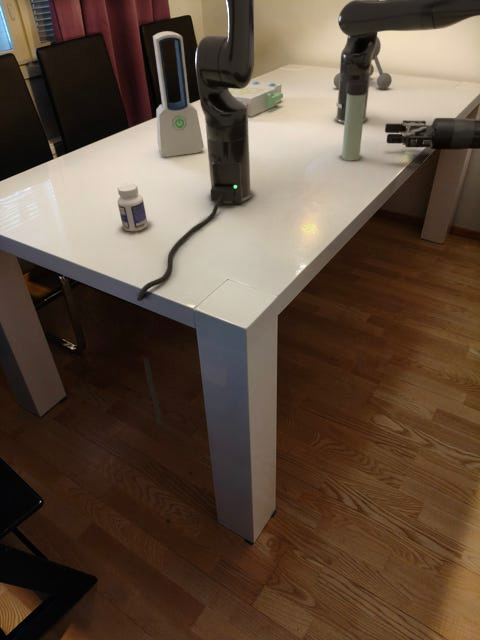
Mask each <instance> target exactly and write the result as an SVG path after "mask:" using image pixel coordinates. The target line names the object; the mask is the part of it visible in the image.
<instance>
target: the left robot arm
mask: <svg viewBox="0 0 480 640" xmlns="http://www.w3.org/2000/svg"><path fill="white" fill-rule="evenodd" d="M224 1H225V5H226V11H227V35H218V34H217V35H215V34H214V35H213V34H212V35H211V34H209V35H205V36H204V37H202V38H201V39H200V41H199V42H198V45H197V47H196V51H195V73H196V74H195V75H196V81H197V89H198V94H199V103H200V107H201V111H202V113H203V114H204V122H205V132H206V144H207V155H208V166H209V167H208V168H209V179H210V201H211V202H214V203H215V204H214V206H213V209H212V211H211V213H210V214H209V215H208V216H207V218H205V219H204V220H203V221H201V222H199V223H198V224H196V225H194V226H193V227H191V228H190V229H189V230H188V231H187V232H186V233H185V234H183V235H182V237H180V238H179V239H178V240H177V241H176V242H175V244H174V245H173V246H172V247H171V249H170V250H169V253H168V256H167V266H166V269H165V273H164V274H163V275H162V276H161V277H159V278H157V279H153V280H151V281H149V282H148V283H146V284H144V285H143V286H142V287H141V289H140V291H139V293H138V295H137V299H136V301H138V302H141V301H143V299H144V296H145V294H146V293H147V291H148V290H149V289H151V288H153V287H155V286H157V285H160V284H162V283H164V282H165V281H167V280H168V279H169V277H170V275H171V273H172V271H173V259H174V255H175V253H176V251H177V250H178V249H179V248H180V246H181V245H182V244H183V243H184V242H185V241H186V240H187V239H188V238H189V237H190V236H191V235H193V233H195V232H197V230H199V229H201V228H202V227H204V226H206V225H207V224H208V223H209V222H211V221H212V220H213V218H214V217H215V216H216V214H217V212H218V210H219V207H220V206H221V205H242V204H243V202H246V201H248V200H250V198H251V196H252V190H251V165H250V162H251V161H250V138H249V135H250V134H249V116H248V110H247V107H246V105H245V104H243V103H242V102H240V101H239V100H237V99H236V98H235V97H234V96H233V95H232V94H231V93H230V92H229V90H230V89H233V88H234V89H243V88H245V87H246V86H247V85H248V84H250V82H251V81H252V78H253V75H254V70H255V57H256V43H255V42H256V37H255V35H256V34H255V0H224ZM142 359H143V364H144V369H145V373H146V378H147V383H148V387H149V390H150V395H151V398H152V403H153V407H154V411H155V416H156V420H157V425H158V426H162V425H163V419H162V413H161V409H160V405H159V400H158V397H157V392H156V388H155V384H154V380H153V376H152V370H151V366H150V360H149V357H143V358H142Z"/></svg>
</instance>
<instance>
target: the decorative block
mask: <svg viewBox="0 0 480 640" xmlns="http://www.w3.org/2000/svg"><path fill="white" fill-rule="evenodd" d="M229 92H230V93H231V94H232V95H233V96H234V97H235V98H236V99H237V100H239V101H240V102H242V103H243V104H245V105H246V107H247V110H248V117H250V118H251V117H252V118H253V117H254V116H256V115H258V114H260V113H263V112H265V111H268V110H270V109H272V108H274V107H276V106H277V104H278V103H280V102H282V99H284V93H282V83H281V84H280V83H275V82H261V81H257V80H254V81H253V82H251V83H249V84H248V85H247V86H246V87H245V88H243V89H234V88H230V89H229Z"/></svg>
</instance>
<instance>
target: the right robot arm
mask: <svg viewBox="0 0 480 640" xmlns="http://www.w3.org/2000/svg"><path fill="white" fill-rule="evenodd" d="M479 16H480V0H379V1H374V0H351V1H349V2H347V3H346V4H345V5H344V6H343V7H342V9H341V10H340V12H339V15H338V22H337V23H338V27H339V30H340V31H341V33H343V34H344V35H346V36H347V39H346V43H345V45H344V47H343V49H342V51H341V54H340V64H339V65H340V66H339V73H340V79H339V88H338V93H337V97H338V98H337V102H336V107H337V108H336V118H335V120H336V122H337V123H341V124H345V112H346V100H347V93H346V88H347V81H350V80H365V81H368V88H367V93H366V98H365V107H364V117H363V123H364V122H366V120H367V108H368V98H369V90H370V80H371V76H370V71H371V64H372V61H373V60H372V55H373V52H374V50H375V46H376V39H377V37H378V33H380V32H391V31H393V32H415V31H416V32H417V31H433V30H441V29H446V28H449V27H452V26H454V25H456V24H459V23H461V22H463V21H465V20H468V19H470V18H473V17H474V18H475V17H479ZM384 132H385V133H386V134H387V135H386V143H387V144H396V145H397V144H398V145H399V144H400V145H402V146H405V148H430V149H431V150H450V151H451V150H453V151H454V150H455V151H457V150H468V149H469V150H480V118H467V117H435V118H434V119H433V121H432V124H431V125H429V124H427V121H426V120H405V119H404V120H402V122H400V123H386V124H385V127H384Z"/></svg>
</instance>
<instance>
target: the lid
mask: <svg viewBox="0 0 480 640" xmlns="http://www.w3.org/2000/svg"><path fill="white" fill-rule="evenodd" d="M367 88H368V81H365V80H350V81H347V88H346V93H348V94H352V95H361V94H365V93H367Z"/></svg>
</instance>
